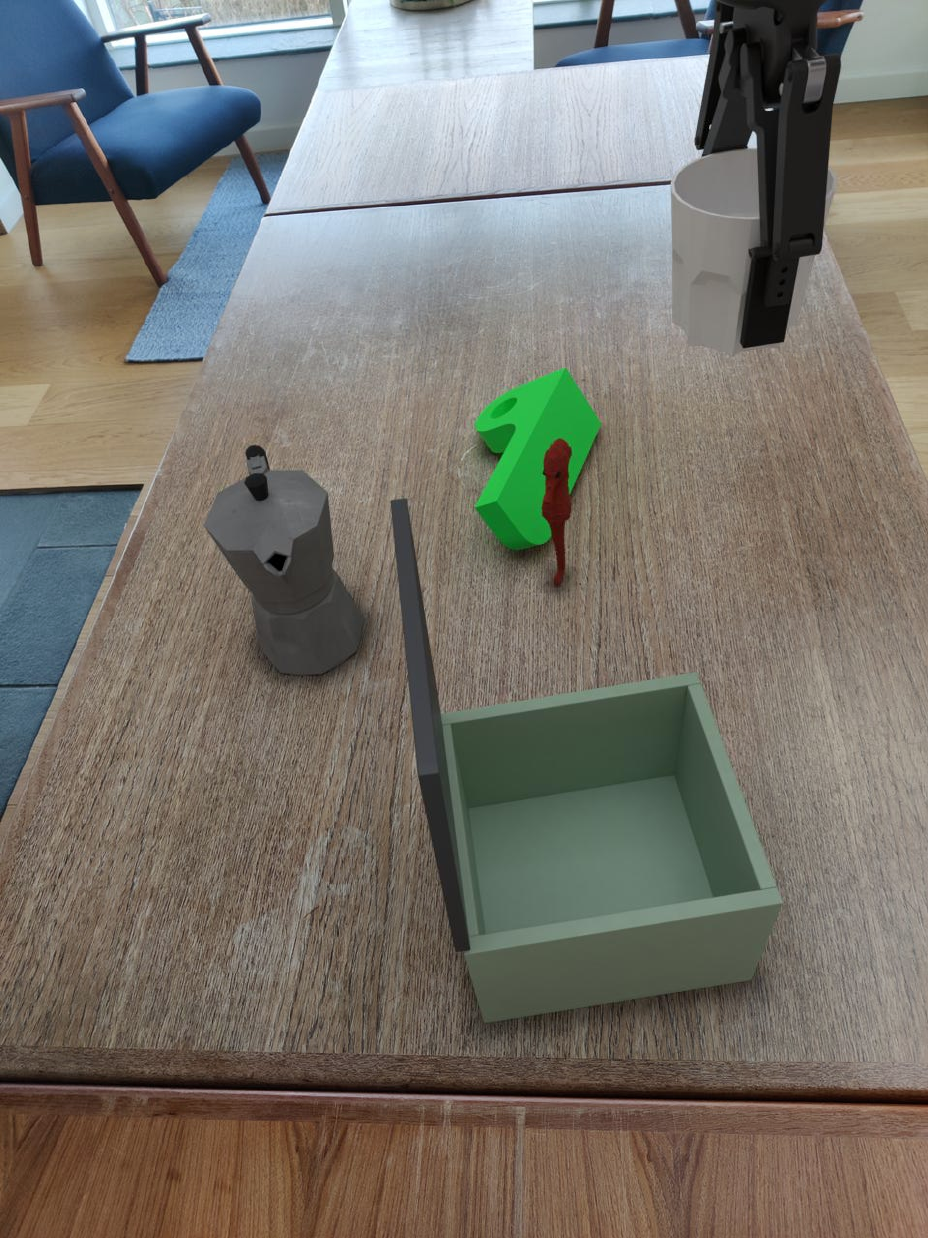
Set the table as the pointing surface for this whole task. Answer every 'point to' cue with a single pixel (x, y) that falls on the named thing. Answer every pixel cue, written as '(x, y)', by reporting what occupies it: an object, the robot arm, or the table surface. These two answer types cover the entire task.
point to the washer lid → (428, 727)
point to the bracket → (531, 453)
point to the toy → (557, 498)
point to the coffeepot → (287, 566)
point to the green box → (603, 849)
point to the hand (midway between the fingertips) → (736, 300)
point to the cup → (721, 247)
